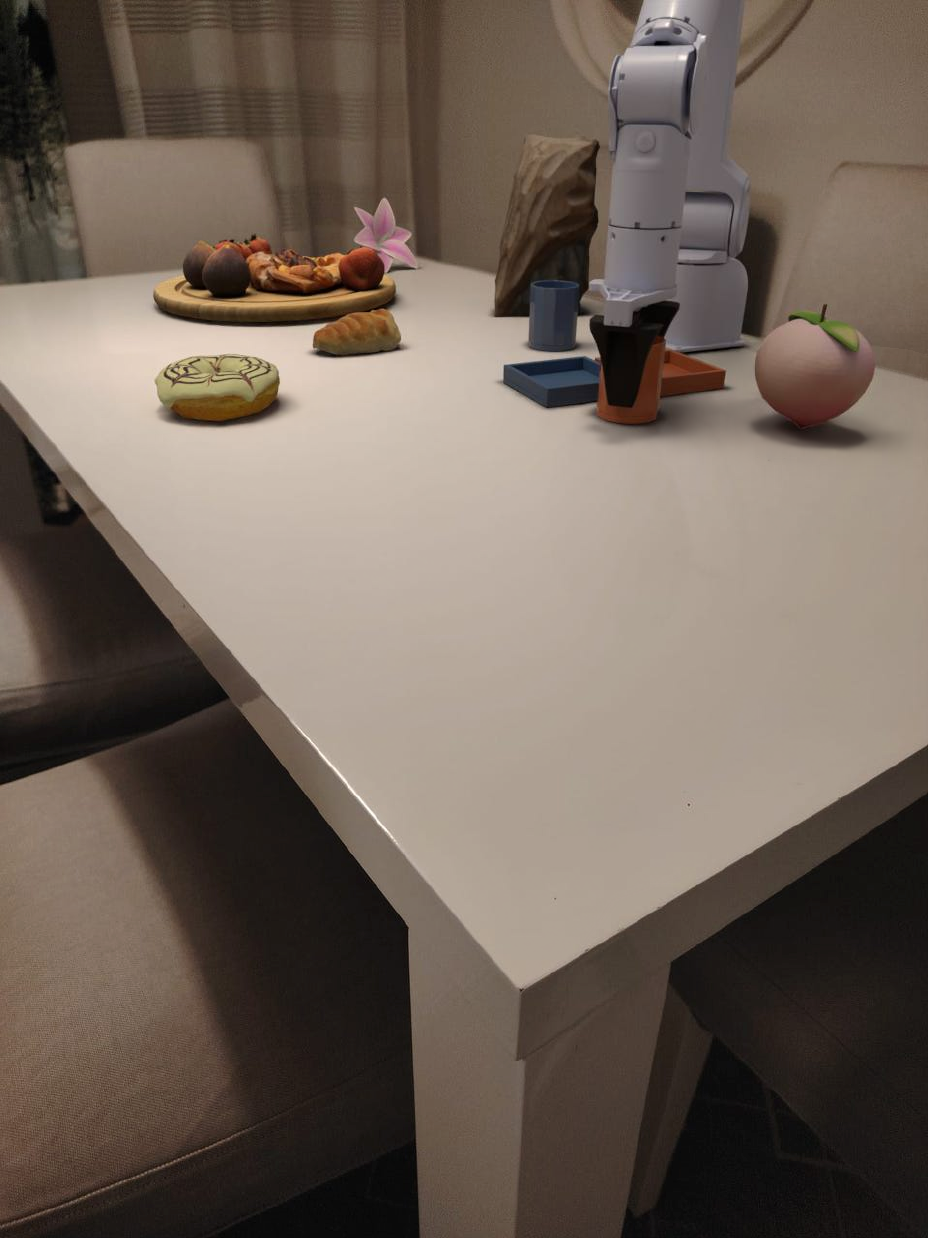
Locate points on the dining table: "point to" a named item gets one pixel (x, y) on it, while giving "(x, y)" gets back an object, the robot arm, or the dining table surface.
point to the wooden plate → (273, 283)
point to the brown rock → (547, 220)
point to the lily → (385, 235)
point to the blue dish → (555, 380)
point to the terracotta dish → (688, 374)
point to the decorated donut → (218, 386)
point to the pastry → (359, 333)
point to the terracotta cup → (647, 394)
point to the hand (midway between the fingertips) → (628, 396)
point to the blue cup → (553, 315)
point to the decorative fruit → (813, 368)
